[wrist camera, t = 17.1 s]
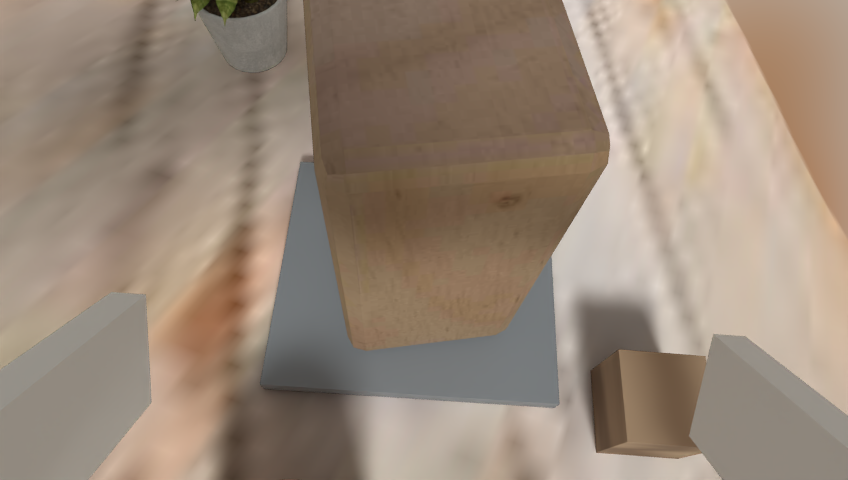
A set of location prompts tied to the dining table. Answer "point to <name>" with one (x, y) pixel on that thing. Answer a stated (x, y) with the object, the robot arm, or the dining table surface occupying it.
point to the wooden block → (446, 157)
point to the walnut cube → (646, 403)
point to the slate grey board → (399, 366)
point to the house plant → (246, 31)
